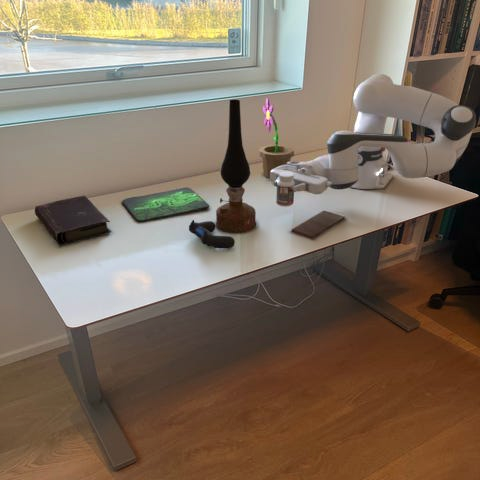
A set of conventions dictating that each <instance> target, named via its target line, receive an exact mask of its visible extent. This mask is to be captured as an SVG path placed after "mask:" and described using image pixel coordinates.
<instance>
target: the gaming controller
mask: <svg viewBox="0 0 480 480" xmlns="http://www.w3.org/2000/svg"><path fill="white" fill-rule="evenodd" d="M216 228H217V227H216V223H215V222H214V221H212V220H206V221H201V222H195V220H194V219H192V220H191V222H190V224H189V225H188V231H189V232H190V233H191V234H193V235H195V236H196V237H197V238H198V239H199V240H200V241H201V243H202V244H203V245H205V246H207V247H211V248H214V249H224V250H225V249H226V250H227V249H232V248H234V247H235V244H236V241H235V238H234V237H232V236H230V235H214V234H213V233H214V231H215V230H216Z"/></svg>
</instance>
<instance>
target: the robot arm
mask: <svg viewBox="0 0 480 480" xmlns="http://www.w3.org/2000/svg"><path fill="white" fill-rule="evenodd" d="M352 101H353V105H354V107H355V109H356V110H357V111H358V113H357V117H356V119H355V123H354V126H353V131H351V130H338V131H334V132H333V133H332V134H331V135H330V136H329V138H328V139H327V142H326V147H327V153H328V154H324V155H320V156H318V157H316V158H314V159H312V160H308V161H291V160H290V162H287V165H281V166H279V167H276V168H274V169H272V170H271V172H270V178H269V180H270V182H271V183H273V187H276V188H277V182H278V180H280V179H279V174H280V173H281V172H291V173H293V174H294V178H293V181H294V182H295V185H293V186H291V191H292V192H294V193H297V192H305V193H310V194H312V195H320V194H322V193H324V192H325V191H327V189H328V188H330V189H333V190H346V189H349V188H353V189H359V190H375V189H379V190H383V189H384V188H385V187H386V186H387V185H388V183H389V182H390V181H391V180H392V179H393V175H392V174H391V173H388V171H389V170H391V169H392V168H393V167H394V169H395V170H396V172H398V174H399V175H400V176H401V177H403V178H405V179H422V178H428V177H429V178H430V177H433V176H437V175H440V174H444V173H447V172H449V171H451V170H452V169H453V168H454V166H455V164H456V163H457V162H458V161H459V160H460V159H461V158H462V157H463V154H464V152H465V150H466V149H467V147H468V145H469V143H470V139H471V136H472V133H473V130H474V129H475V127H476V122H477V115H476V112H475V111H474V110H473V109H472V108H471V107H469V106H467V105H462V104H458V103H457V102H455V101H453V100H452V99H449V98H448V97H445V96H444V95H441V94H438V93H435V92H432V91H428V90H425V89H422V88H418V87H415V86H412V85H401V84H395V83H394V81H393V79H392V78H391V77H390V76H389V75H387V74H384V73H376V74H373V75H371V76H370V77H368V78H366V79H365V80H364V81H362V82H361V83H360V84H359V85H357V87H356V89H355V91H354V94H353V98H352ZM388 118H391V119H397V120H401V121H405V122H408V123H411V124H415V125H417V126H420V127H424V128H427V129H430V130H432V132H433V133H434V136H433V137H432V139H431V142H423V143H414V142H410V141H409V140H408V138H407V137H406V136H404V135H400V134H394V133H393V134H392V133H391V134H390V133H384V132H385V127H386V123H387V120H388ZM386 151H387V152H388V155H389V156H390V160H388V161H386V160H385V158H383V153H384V152H386ZM390 163H392V164H393V165H390ZM392 166H393V167H392Z"/></svg>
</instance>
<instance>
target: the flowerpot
mask: <svg viewBox="0 0 480 480" xmlns="http://www.w3.org/2000/svg"><path fill="white" fill-rule="evenodd" d="M262 112H263V114H264V115H266V116H264V119H263V126H266V127H267V131H268V133H271V129H272V125H274V131H275V136H274V137H273V140H274V141H275V144H266V145H262V146H261V147H259V148H258V155H259V157H260V158H261V162H262V171H263V172H262V173H263V176H264V177H266V178H267V179H268V178H269V179H270V172H271V170H272V169H274V168H276V167H279V166H281V165H287V162H290V161H291V160H292V158H293V157H294V156H295V149H294V148H293V147H292V146H289V145H285V144H279V130H278V123H277V122H276V119H275V117H274V116H273V112H274V104H270V99H269V97H266V100H265V105H264V106H262Z"/></svg>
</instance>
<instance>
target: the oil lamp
mask: <svg viewBox="0 0 480 480" xmlns="http://www.w3.org/2000/svg"><path fill="white" fill-rule="evenodd" d="M228 113H229V114H228V136H227V137H228V138H227V146H226V150H225V154H224V157H223V161H222V163H221V166H220V176H221V179H222V180H223V182H224V183H225V184H227V185H228V187H227V188H226V189H225V190H226V193H227V196H228V200H225V202H226V203H224V204H222V205H220V206H218V207H217V208H216V209H215V215H216V216H215V218H216V222H215V226H216V227H215V228H216V229H218V230H219V231H220V232H223V233H226V234H227V233H228V234H245V233H248V232H252V231H253V230H254V229H256V227H257V221H256V209H255V207H253V205H250V204H248V203H246V202H243V201H244V200H243V196H244V194H245V191H246V189H245V188H244V187H243V185H244V184H245V183H247V181H248V180H249V179H250V176H251V170H250V169H251V168H250V164H249V162H248V159H247V157H246V156H247V155H246V153H245V149H244V146H243V145H244V144H243V136H242V119H241V100H240V99H230V100H229V109H228ZM222 202H224V199H223V198H222V197H220V198H219V203H220V204H221V203H222Z"/></svg>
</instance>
